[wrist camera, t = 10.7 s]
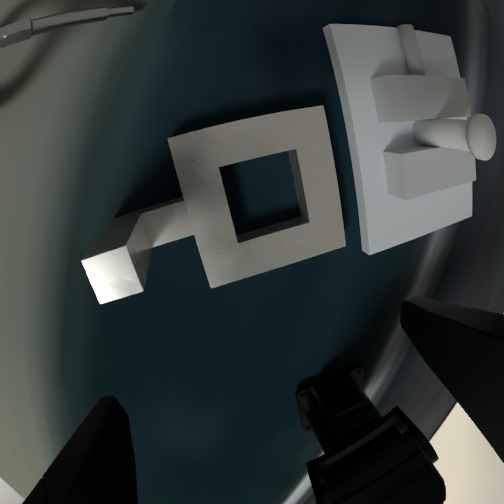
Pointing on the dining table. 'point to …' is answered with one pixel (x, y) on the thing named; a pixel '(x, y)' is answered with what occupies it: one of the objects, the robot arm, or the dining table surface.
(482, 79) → the dining table surface
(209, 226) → the square frame with handle
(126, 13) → the tow hook
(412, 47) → the plate with round-ended peg
